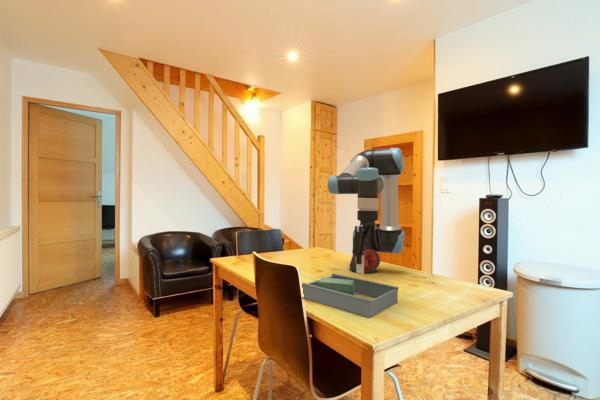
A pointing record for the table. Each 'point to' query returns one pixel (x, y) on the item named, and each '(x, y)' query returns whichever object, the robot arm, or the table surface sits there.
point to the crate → (351, 303)
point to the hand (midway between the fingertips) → (367, 270)
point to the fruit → (370, 259)
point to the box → (338, 285)
